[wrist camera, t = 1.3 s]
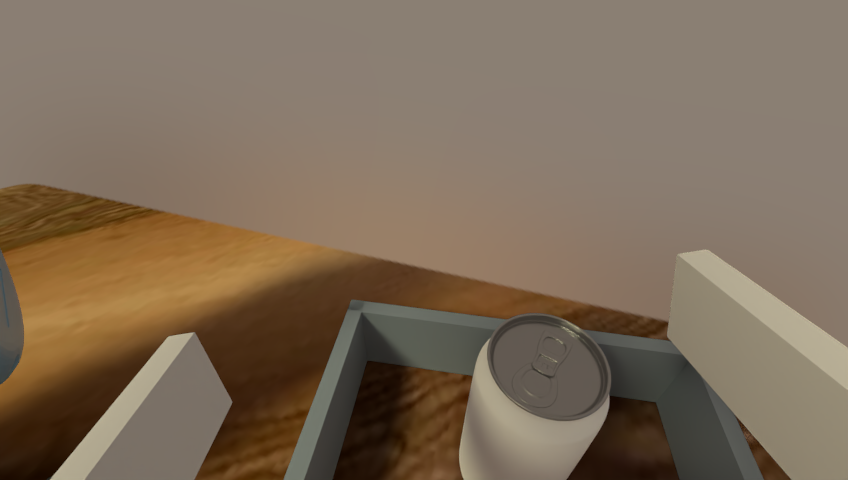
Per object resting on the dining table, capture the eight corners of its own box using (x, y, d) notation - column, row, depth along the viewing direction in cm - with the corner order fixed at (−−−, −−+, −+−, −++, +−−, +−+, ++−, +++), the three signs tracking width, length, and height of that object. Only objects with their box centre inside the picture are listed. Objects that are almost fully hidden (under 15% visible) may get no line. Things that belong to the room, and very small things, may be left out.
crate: (752, 653, 20) (835, 639, 16) (290, 560, 22) (265, 529, 18) (666, 391, 30) (703, 345, 27) (358, 348, 33) (351, 299, 29)
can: (439, 478, 26) (452, 377, 18) (485, 398, 30) (511, 288, 22) (535, 547, 23) (600, 464, 15) (571, 449, 27) (635, 344, 19)
